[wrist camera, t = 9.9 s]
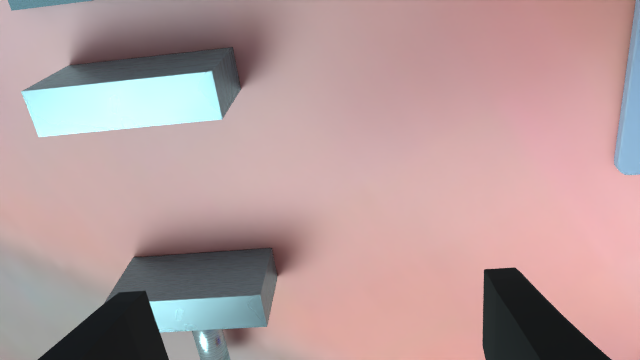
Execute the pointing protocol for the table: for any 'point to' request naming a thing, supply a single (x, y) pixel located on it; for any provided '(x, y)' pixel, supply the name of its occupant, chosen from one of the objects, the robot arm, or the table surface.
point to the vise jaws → (152, 110)
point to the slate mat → (38, 3)
